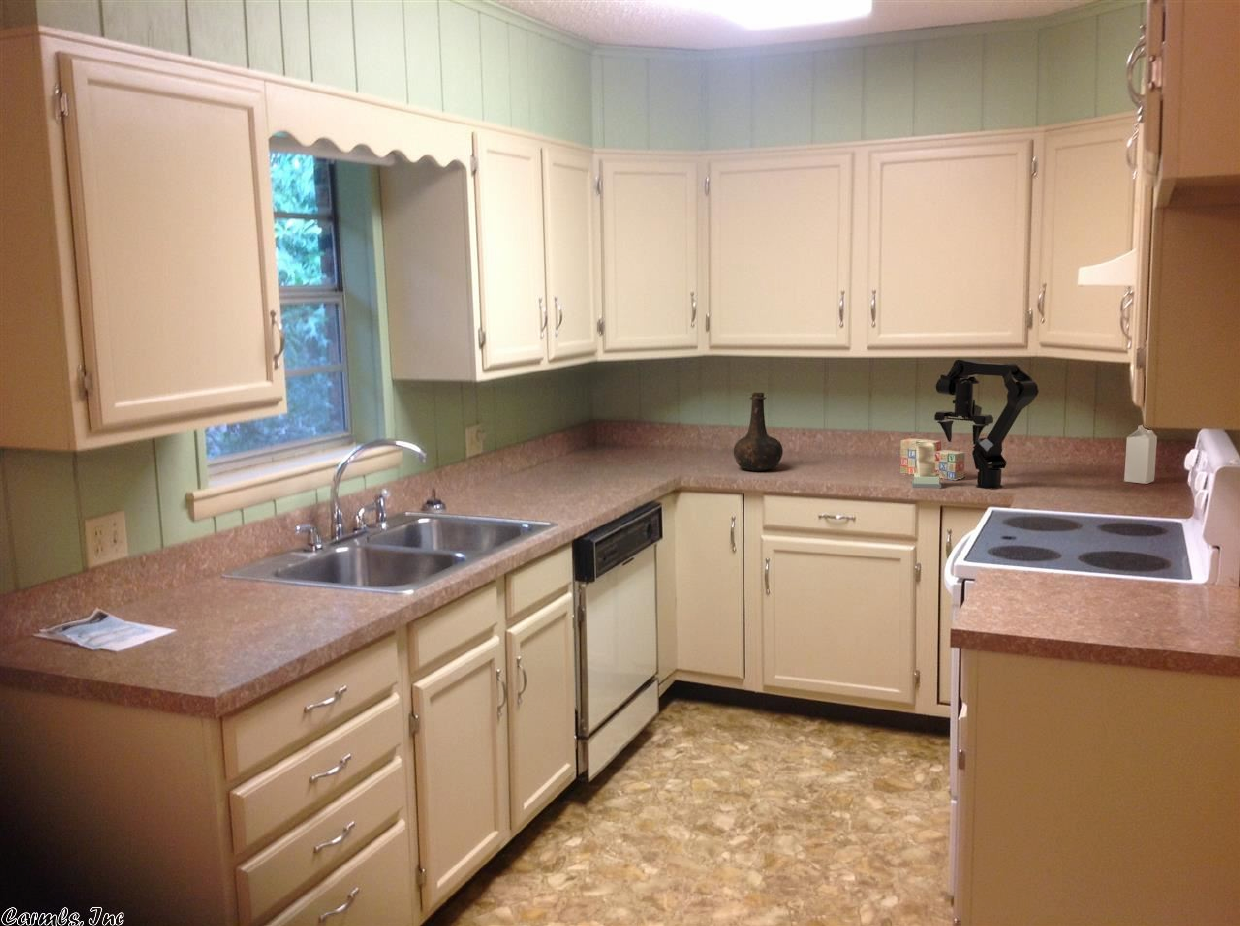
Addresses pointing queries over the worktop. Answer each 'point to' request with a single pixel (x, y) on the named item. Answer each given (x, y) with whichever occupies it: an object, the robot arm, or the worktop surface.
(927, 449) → the tall block
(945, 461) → the stack of blocks
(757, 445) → the glass bottle
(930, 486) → the tower base
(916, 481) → the tower top
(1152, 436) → the milk carton
